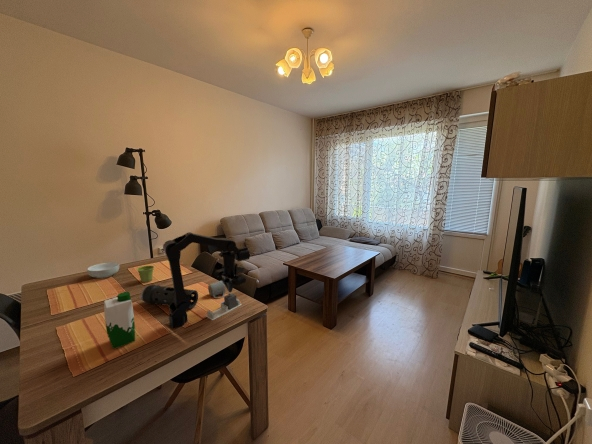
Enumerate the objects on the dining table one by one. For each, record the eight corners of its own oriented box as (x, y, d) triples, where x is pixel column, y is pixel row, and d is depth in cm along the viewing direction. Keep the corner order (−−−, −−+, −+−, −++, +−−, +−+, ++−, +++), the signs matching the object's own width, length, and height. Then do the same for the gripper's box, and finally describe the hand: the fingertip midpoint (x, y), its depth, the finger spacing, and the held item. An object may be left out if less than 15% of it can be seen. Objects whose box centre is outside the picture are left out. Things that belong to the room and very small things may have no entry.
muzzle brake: (187, 314, 115) (186, 295, 113) (140, 307, 121) (138, 288, 119) (199, 304, 124) (198, 286, 122) (154, 298, 130) (152, 281, 128)
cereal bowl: (124, 274, 160) (123, 265, 159) (94, 283, 147) (92, 272, 145) (114, 269, 169) (112, 260, 168) (84, 277, 155) (83, 267, 154)
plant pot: (139, 279, 154) (138, 266, 153) (156, 276, 158) (154, 264, 156) (136, 284, 146) (135, 271, 144) (154, 282, 150) (153, 269, 148)
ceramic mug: (207, 293, 136) (207, 281, 134) (221, 290, 140) (221, 278, 139) (213, 302, 127) (212, 289, 126) (227, 297, 132) (227, 285, 130)
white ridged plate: (212, 321, 109) (212, 315, 109) (204, 316, 113) (204, 310, 112) (242, 305, 124) (241, 300, 123) (233, 301, 127) (233, 296, 127)
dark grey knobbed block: (229, 309, 118) (229, 296, 117) (224, 307, 120) (224, 294, 119) (236, 306, 122) (236, 293, 120) (231, 303, 124) (231, 291, 123)
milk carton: (138, 341, 96) (132, 296, 92) (110, 352, 89) (103, 304, 86) (133, 331, 102) (128, 288, 98) (107, 340, 95) (100, 295, 92)
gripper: (253, 262, 118) (254, 291, 121) (230, 255, 129) (231, 281, 131) (236, 269, 109) (237, 300, 112) (212, 261, 120) (214, 289, 123)
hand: (230, 292), depth 120 cm, fingers closed
